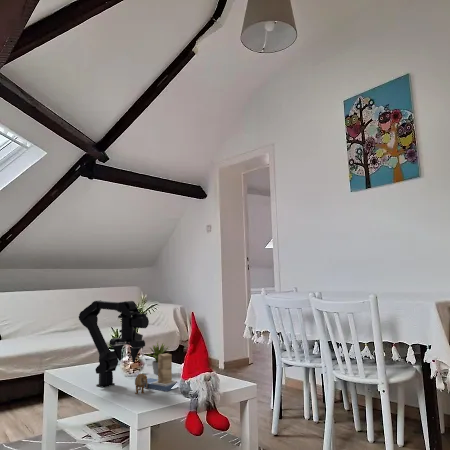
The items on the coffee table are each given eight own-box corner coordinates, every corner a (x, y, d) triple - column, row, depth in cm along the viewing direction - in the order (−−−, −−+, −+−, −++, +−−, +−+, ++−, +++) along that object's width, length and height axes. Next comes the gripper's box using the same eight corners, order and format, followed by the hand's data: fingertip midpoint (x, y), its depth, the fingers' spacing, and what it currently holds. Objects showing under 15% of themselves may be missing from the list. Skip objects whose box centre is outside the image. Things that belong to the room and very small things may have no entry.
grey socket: (152, 384, 187) (152, 382, 187) (164, 380, 194) (164, 378, 194) (165, 386, 182) (165, 384, 183) (177, 382, 189) (177, 380, 189)
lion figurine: (146, 395, 175) (146, 374, 177) (133, 396, 175) (134, 374, 176) (148, 387, 190) (148, 367, 191) (137, 387, 189) (137, 367, 190)
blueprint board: (137, 386, 192) (137, 381, 192) (149, 382, 199) (149, 377, 199) (166, 391, 181) (166, 386, 182) (179, 387, 188) (179, 382, 189)
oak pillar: (158, 383, 188) (158, 354, 190) (166, 381, 191) (166, 353, 193) (163, 385, 185) (163, 355, 187) (171, 383, 188) (171, 354, 190)
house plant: (170, 376, 210) (170, 344, 213) (143, 377, 210) (144, 344, 212) (173, 370, 224) (173, 340, 227) (148, 371, 224) (149, 341, 227)
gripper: (153, 327, 194) (153, 360, 192) (126, 325, 205) (125, 356, 202) (136, 329, 185) (136, 364, 183) (109, 327, 195) (108, 360, 193)
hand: (126, 361), depth 191 cm, fingers open, 9 cm apart
